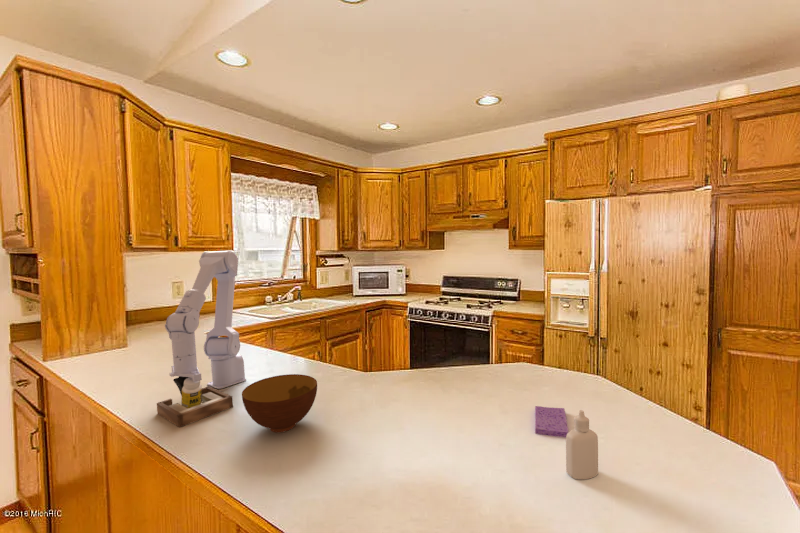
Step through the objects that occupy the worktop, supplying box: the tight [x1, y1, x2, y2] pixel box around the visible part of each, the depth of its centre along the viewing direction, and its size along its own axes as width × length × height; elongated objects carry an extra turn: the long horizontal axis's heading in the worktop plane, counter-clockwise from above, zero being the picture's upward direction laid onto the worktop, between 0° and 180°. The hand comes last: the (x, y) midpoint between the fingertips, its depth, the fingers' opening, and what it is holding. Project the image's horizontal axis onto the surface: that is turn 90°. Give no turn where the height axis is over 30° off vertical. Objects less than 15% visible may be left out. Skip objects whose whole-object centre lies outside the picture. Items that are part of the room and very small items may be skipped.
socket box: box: [156, 385, 234, 428], centre depth 103 cm, size 14×14×3 cm
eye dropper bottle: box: [565, 409, 599, 481], centre depth 68 cm, size 4×6×12 cm
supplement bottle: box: [180, 377, 202, 408], centre depth 103 cm, size 5×5×8 cm
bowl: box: [241, 373, 318, 433], centre depth 92 cm, size 18×18×10 cm
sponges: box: [534, 405, 569, 438], centre depth 88 cm, size 7×13×2 cm, turn 160°
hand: (188, 401), depth 106 cm, fingers closed, pressing on supplement bottle
